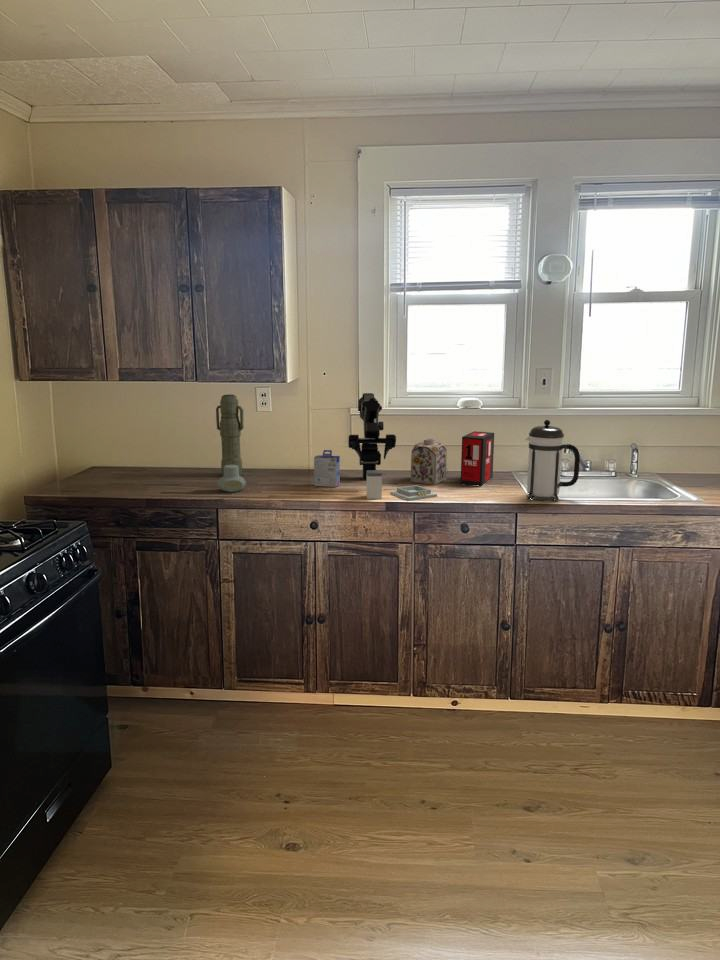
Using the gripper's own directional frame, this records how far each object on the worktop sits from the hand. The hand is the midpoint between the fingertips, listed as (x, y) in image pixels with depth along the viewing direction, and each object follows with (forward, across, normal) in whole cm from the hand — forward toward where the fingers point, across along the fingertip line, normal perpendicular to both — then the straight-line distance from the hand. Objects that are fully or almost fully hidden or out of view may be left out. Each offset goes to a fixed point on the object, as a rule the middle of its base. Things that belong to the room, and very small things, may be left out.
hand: (372, 458), depth 274 cm
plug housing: (+15, 0, +4) cm, 16 cm away
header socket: (+13, +16, +6) cm, 21 cm away
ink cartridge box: (+1, -18, +19) cm, 26 cm away
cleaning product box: (-3, +45, +22) cm, 50 cm away
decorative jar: (-4, +25, +23) cm, 34 cm away
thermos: (-14, -60, +34) cm, 70 cm away
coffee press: (+17, +66, +2) cm, 68 cm away
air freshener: (+6, -56, +13) cm, 58 cm away
